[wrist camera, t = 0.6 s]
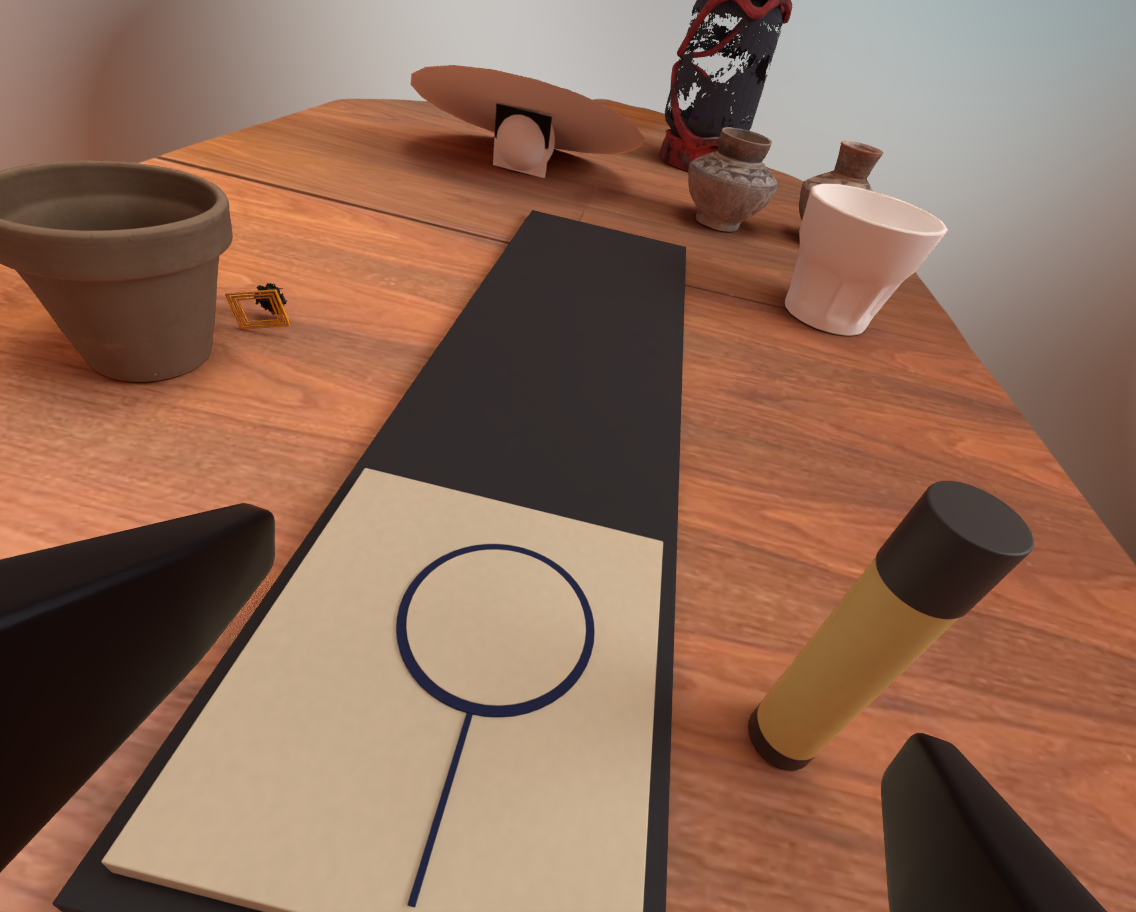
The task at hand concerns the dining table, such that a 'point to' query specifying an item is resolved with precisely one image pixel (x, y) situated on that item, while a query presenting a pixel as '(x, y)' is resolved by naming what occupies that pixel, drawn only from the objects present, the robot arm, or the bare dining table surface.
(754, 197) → the pottery
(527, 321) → the long black board
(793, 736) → the disc
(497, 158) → the cake stand
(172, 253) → the flower pot
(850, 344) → the dining table surface
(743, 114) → the lantern
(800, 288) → the cup
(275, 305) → the golden diamond frame ornament
